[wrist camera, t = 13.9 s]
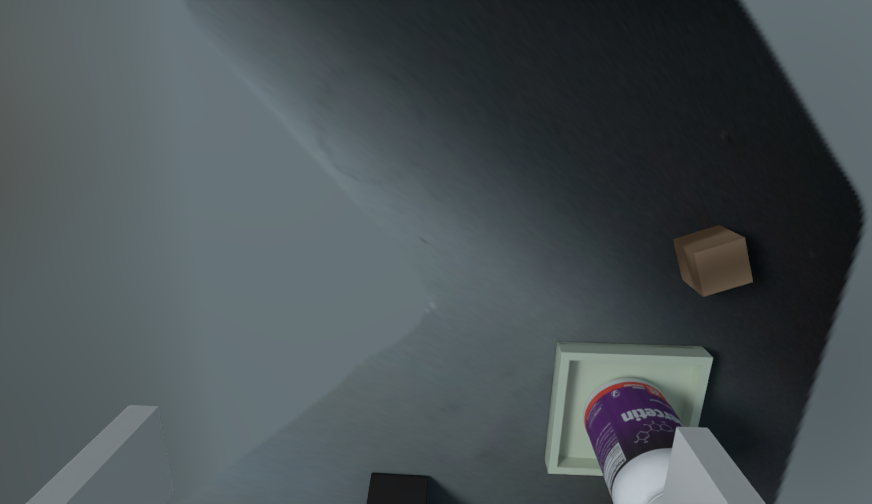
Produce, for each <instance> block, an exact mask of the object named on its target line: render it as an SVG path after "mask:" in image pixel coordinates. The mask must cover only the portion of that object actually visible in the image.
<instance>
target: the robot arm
mask: <svg viewBox="0 0 872 504" xmlns="http://www.w3.org/2000/svg"><path fill="white" fill-rule="evenodd" d="M173 493H174V488H173V483H172V477H171V472H170V466H169V461H168V455H167V450H166V444H165V439H164V434H163V429H162V423H161V418H160V412H159V406H135V405H129V406H128V407H127V408H126V409H125V410H124V411H123V412H122V413H121V414H120V415H119V416H117V418H115V419H114V420H113V421H112V422H111V423H110V424H109V425H108V426H107V427H106V428H105V429H104V430H103V431H102V432H101V433H100V434H99V435H97V437H95V438H94V439H93V440H92V441H91V442H90V443H89V444H88V445H87V446H86V447H85V448H84V449H83V450H82V451H81V452H80V453H79V454H78V455H76V456H75V457H74V459H72V460H71V461H70V462H69V463H68V464H67V465H66V466H65V467H64V468H63V469H62V470H61V471H60V472H59V473H58V474H57V475H56V476H54V477H53V479H51V480H50V481H49V482H48V483H47V484H46V485H45V486H44V487H43V488H42V489H41V490H40V491H39V492H38V493H37V494H36V495H35V496H34V497H32V498H31V499H30V501H28V502H27V503H26V504H166V503H167V502H168V500H169V499H170V498H171V496H172V495H173ZM661 504H765V502H764V501H763V500H762V498H761V497H760V496H759V494H758V493H757V492H756V491H755V489H754V488H753V487H752V485H751V484H750V483H749V481H748V480H747V479H746V477H745V476H744V475H743V473H742V472H741V471H740V469H739V468H738V467H737V466H736V464H735V463H734V462H733V460H732V459H731V458H730V456H729V455H728V454H727V452H726V451H725V450H724V448H723V447H722V446H721V444H720V443H719V442H718V441H717V439H716V438H715V437H714V435H713V434H712V433H711V431H710V430H709V429H708V428H700V427H676V432H675V437H674V442H673V447H672V452H671V457H670V462H669V467H668V471H667V476H666V481H665V486H664V491H663V496H662V501H661Z"/></svg>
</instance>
